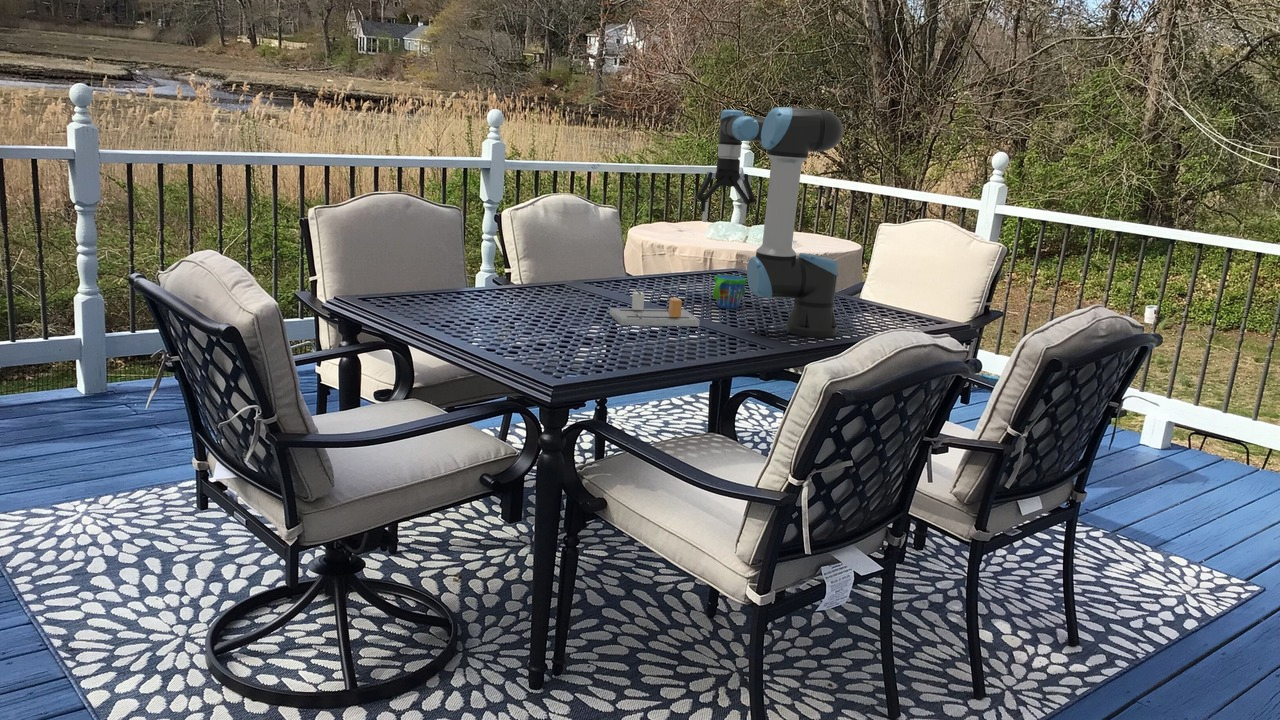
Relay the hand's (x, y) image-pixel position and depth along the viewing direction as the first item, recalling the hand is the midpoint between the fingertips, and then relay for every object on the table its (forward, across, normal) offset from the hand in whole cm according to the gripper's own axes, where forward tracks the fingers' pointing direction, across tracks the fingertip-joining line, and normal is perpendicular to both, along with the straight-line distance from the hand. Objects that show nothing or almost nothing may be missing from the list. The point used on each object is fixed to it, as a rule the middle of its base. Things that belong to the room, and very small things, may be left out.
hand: (723, 222), depth 329 cm
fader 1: (+25, +34, +27) cm, 50 cm away
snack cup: (+28, -1, +8) cm, 29 cm away
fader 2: (+25, +25, +37) cm, 51 cm away
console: (+27, +30, +32) cm, 52 cm away
